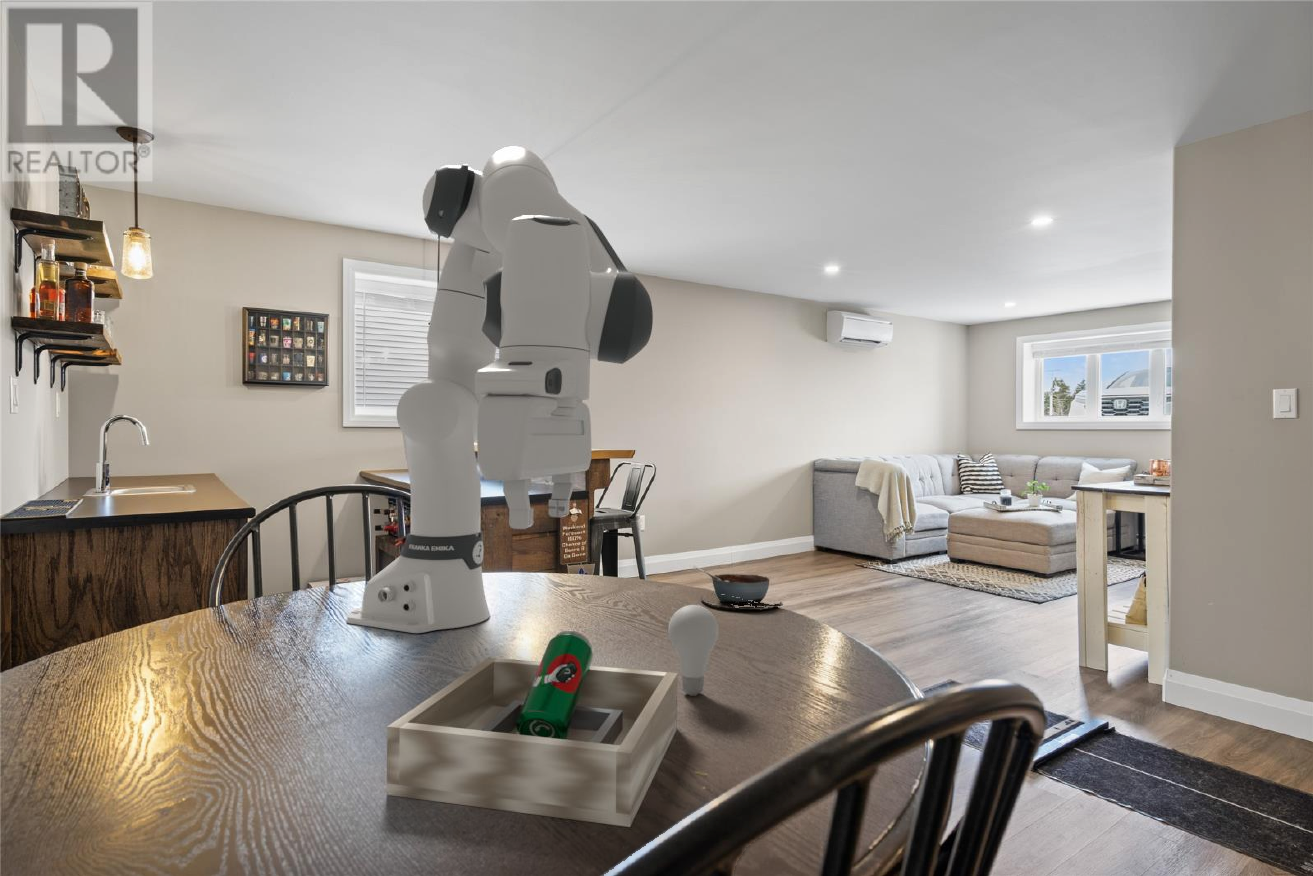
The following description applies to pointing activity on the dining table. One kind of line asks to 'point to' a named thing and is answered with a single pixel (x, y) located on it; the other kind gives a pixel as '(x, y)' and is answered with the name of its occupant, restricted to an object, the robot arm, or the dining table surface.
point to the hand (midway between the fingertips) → (541, 522)
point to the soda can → (556, 687)
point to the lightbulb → (693, 644)
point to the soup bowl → (740, 590)
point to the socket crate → (536, 744)
